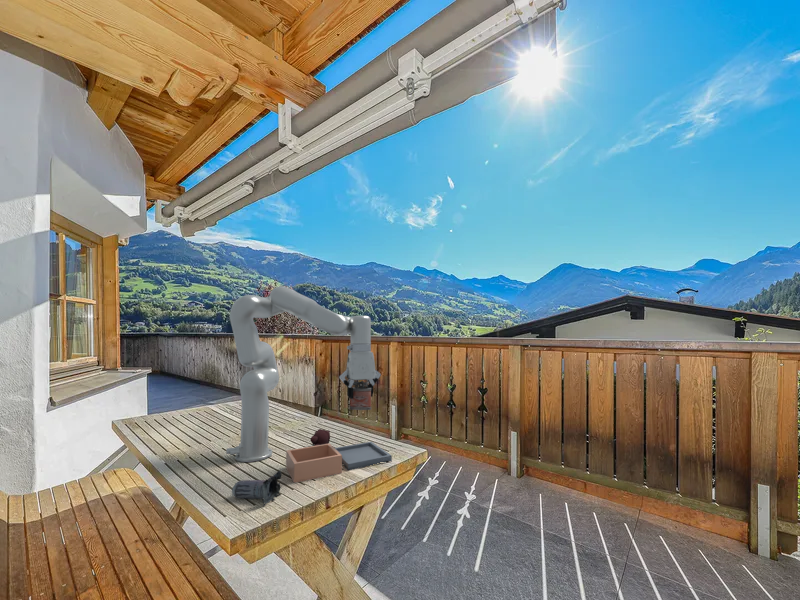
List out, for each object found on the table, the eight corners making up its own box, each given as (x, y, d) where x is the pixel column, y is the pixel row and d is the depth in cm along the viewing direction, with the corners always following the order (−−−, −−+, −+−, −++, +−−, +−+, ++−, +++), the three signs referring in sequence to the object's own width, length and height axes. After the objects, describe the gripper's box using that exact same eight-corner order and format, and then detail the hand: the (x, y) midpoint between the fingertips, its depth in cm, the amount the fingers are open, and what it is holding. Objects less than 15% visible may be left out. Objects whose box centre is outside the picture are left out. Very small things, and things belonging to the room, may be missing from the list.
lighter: (372, 408, 126) (372, 380, 127) (369, 410, 123) (369, 382, 124) (351, 407, 128) (351, 380, 129) (348, 409, 124) (348, 381, 125)
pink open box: (294, 482, 103) (294, 463, 103) (286, 467, 115) (286, 450, 116) (341, 472, 110) (341, 455, 110) (329, 459, 122) (329, 443, 123)
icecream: (319, 424, 145) (301, 438, 131) (334, 421, 144) (318, 434, 129) (323, 440, 145) (306, 456, 130) (339, 437, 143) (323, 452, 129)
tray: (348, 470, 112) (348, 464, 112) (332, 453, 128) (332, 448, 128) (391, 461, 119) (391, 455, 120) (371, 446, 135) (371, 441, 135)
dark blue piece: (281, 500, 95) (242, 499, 97) (283, 469, 98) (245, 469, 100) (263, 509, 87) (221, 508, 89) (266, 476, 89) (224, 475, 91)
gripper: (341, 349, 120) (341, 401, 118) (385, 348, 128) (386, 396, 126) (335, 349, 127) (334, 397, 125) (377, 347, 135) (377, 393, 133)
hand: (360, 396), depth 126 cm, fingers closed on lighter, 7 cm apart
